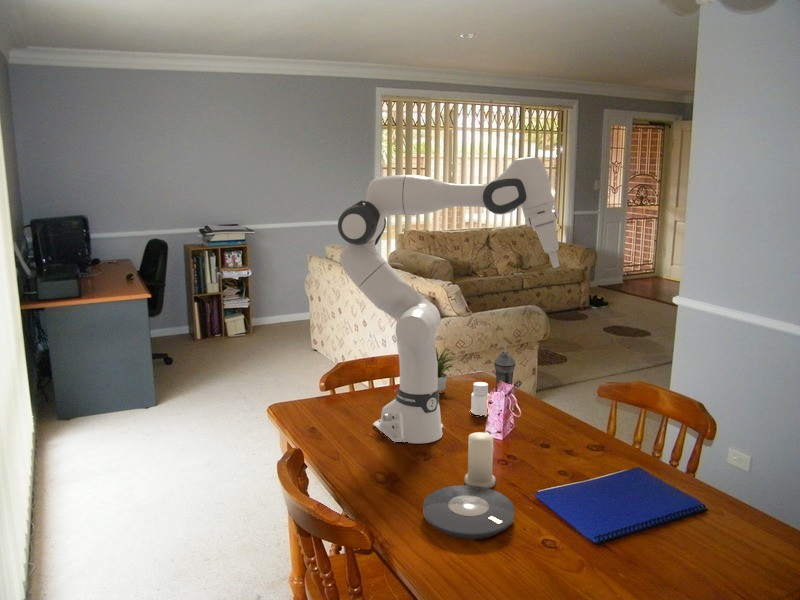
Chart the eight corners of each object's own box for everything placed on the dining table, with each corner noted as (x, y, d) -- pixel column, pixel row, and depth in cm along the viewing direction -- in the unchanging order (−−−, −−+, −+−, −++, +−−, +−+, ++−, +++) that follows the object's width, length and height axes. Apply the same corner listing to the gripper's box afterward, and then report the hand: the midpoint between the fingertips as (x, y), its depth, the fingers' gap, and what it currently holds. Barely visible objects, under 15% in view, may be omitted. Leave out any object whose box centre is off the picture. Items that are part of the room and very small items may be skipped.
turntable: (404, 509, 145) (404, 502, 145) (468, 483, 157) (468, 476, 157) (468, 547, 130) (468, 540, 129) (533, 515, 142) (533, 508, 142)
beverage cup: (513, 392, 229) (515, 337, 226) (515, 399, 222) (517, 343, 219) (492, 392, 230) (494, 337, 226) (493, 398, 223) (495, 342, 219)
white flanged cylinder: (458, 481, 162) (458, 436, 160) (479, 472, 167) (480, 428, 165) (480, 492, 156) (481, 445, 154) (501, 483, 161) (502, 437, 159)
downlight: (492, 418, 205) (493, 387, 204) (470, 418, 205) (470, 387, 204) (489, 410, 213) (490, 380, 212) (468, 410, 213) (468, 380, 212)
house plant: (444, 402, 220) (445, 355, 217) (409, 395, 227) (410, 349, 224) (463, 390, 232) (464, 346, 229) (429, 384, 239) (430, 341, 236)
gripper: (529, 217, 184) (542, 264, 186) (530, 221, 165) (545, 272, 166) (551, 210, 183) (564, 257, 184) (555, 213, 163) (569, 266, 165)
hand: (555, 265), depth 175 cm, fingers open, 8 cm apart
